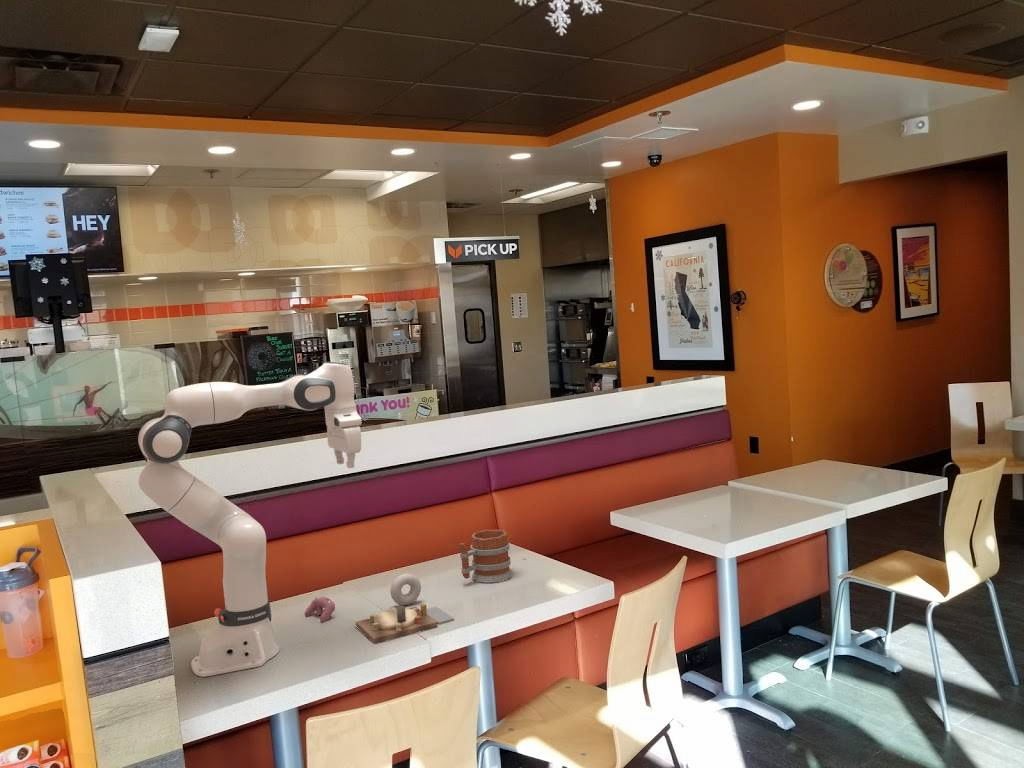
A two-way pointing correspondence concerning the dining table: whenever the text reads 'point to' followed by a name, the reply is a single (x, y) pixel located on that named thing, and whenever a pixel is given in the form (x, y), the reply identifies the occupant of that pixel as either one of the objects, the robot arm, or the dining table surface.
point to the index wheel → (395, 618)
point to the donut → (413, 593)
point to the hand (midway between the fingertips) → (345, 465)
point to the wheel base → (384, 635)
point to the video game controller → (321, 608)
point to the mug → (487, 557)
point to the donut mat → (439, 615)
